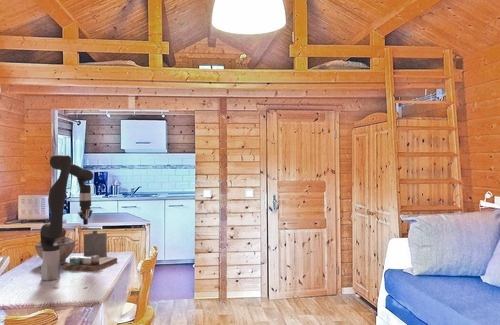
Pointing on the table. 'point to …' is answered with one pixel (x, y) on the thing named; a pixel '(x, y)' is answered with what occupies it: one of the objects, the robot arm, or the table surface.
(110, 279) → the table surface
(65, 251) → the ceramic pot
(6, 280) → the table surface
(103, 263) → the lock board
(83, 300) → the table surface
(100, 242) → the hip flask
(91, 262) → the bar
